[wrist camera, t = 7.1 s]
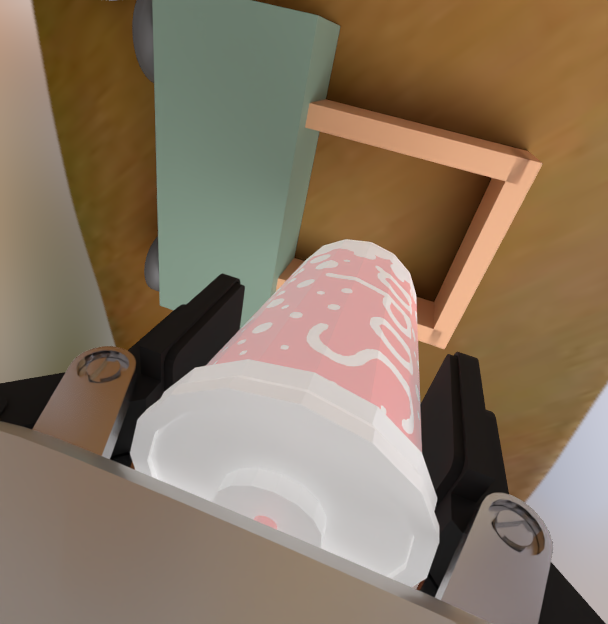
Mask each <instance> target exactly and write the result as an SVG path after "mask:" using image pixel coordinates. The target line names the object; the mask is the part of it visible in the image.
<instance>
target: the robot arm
mask: <svg viewBox="0 0 608 624" xmlns="http://www.w3.org/2000/svg"><path fill="white" fill-rule="evenodd" d="M244 293H245V286H244V285H242V284H241V282H240V279H238V278H235V277H232V276H229V275H226V274H223V273H222V274H220V275H219V276H218V277H217V278H216V279H214V280H213V281H212V282H211V283H210V284H209V285H208V286H207V287H205V288H204V289H203V290H202V291H201V292H200V293H199V294H198V295H196V296H195V297H194V298H193V299H192V300H191V301H190V302H189V303H187V304H182V305H180V306H178V307H177V308H176V309H175V310H174V311H173V312H171V313H170V314H169V315H168V316H167V317H166V318H165V319H163V320H162V321H161V322H160V323H159V324H158V325H156V326H155V327H154V328H153V329H152V330H151V331H150V332H148V333H147V334H146V335H145V336H144V337H143V338H142V339H140V340H139V341H138V342H137V343H136V344H135V345H133V346H132V347H131V348H130V349H129V350H128V351H127V350H125V349H123V348H119V347H113V346H105V347H98V348H93V349H90V350H88V351H85V352H83V353H82V354H80V355H79V356H77V357H76V358H75V359H74V360H73V361H72V363H71V364H70V366H69V367H68V369H67V371H66V372H65V373H59V374H53V375H48V376H42V377H35V378H30V379H24V380H18V381H13V382H6V383H0V624H605V623H604V621H603V620H602V619H601V618H600V617H599V616H598V615H597V613H596V612H595V611H594V610H593V609H592V608H591V607H590V606H589V605H588V603H587V602H586V601H585V600H584V599H583V598H582V596H581V595H580V594H579V593H578V592H577V591H576V590H575V589H574V587H573V586H572V585H571V584H570V583H569V582H568V581H567V580H566V579H565V577H564V576H563V575H562V574H561V573H560V572H559V570H558V569H557V568H556V567H555V566H554V565H553V564H552V563H551V558H552V553H553V542H552V539H551V535H550V532H549V530H548V529H547V527H546V525H545V523H544V522H543V520H542V519H541V518H540V517H539V516H538V514H537V513H536V512H535V511H534V510H533V509H532V508H531V507H529V506H528V505H527V504H526V503H525V502H523V501H521V500H520V499H518V498H516V497H514V496H512V495H509V492H508V486H507V480H506V474H505V468H504V463H503V457H502V451H501V445H500V439H499V434H498V428H497V422H496V417H495V414H494V413H493V412H491V411H488V410H486V409H485V402H484V396H483V389H482V382H481V375H480V368H479V361H478V359H477V358H475V357H472V356H469V355H466V354H463V353H460V352H456V353H455V354H454V356H453V355H450V354H448V355H447V356H446V358H445V359H444V361H443V363H442V365H441V367H440V369H439V371H438V372H437V374H436V376H435V378H434V380H433V382H432V384H431V386H430V387H429V389H428V391H427V393H426V395H425V397H424V399H423V401H422V402H421V404H420V412H421V440H422V454H423V457H424V460H425V463H426V466H427V469H428V472H429V475H430V478H431V481H432V484H433V487H434V490H435V493H436V496H437V503H436V507H435V511H434V512H435V515H436V518H437V521H438V524H439V545H438V547H437V550H436V553H435V556H434V559H433V562H432V564H431V567H430V570H429V573H428V576H427V578H426V579H424V580H423V581H421V582H420V583H419V585H418V587H417V589H414V588H412V587H410V586H407V585H405V584H403V583H400V582H398V581H396V580H393V579H391V578H389V577H386V576H384V575H382V574H379V573H377V572H375V571H372V570H370V569H368V568H365V567H363V566H361V565H358V564H356V563H354V562H351V561H349V560H347V559H344V558H342V557H340V556H337V555H335V554H333V553H330V552H328V551H326V550H324V549H321V548H319V547H317V546H314V545H312V544H309V543H307V542H305V541H302V540H300V539H298V538H295V537H293V536H291V535H288V534H286V533H284V532H281V531H279V530H277V529H274V528H272V527H270V526H267V525H265V524H262V523H260V522H258V521H255V520H253V519H251V518H248V517H246V516H244V515H241V514H239V513H236V512H234V511H232V510H229V509H227V508H225V507H222V506H220V505H218V504H215V503H213V502H210V501H208V500H206V499H203V498H201V497H199V496H196V495H194V494H192V493H189V492H187V491H184V490H182V489H180V488H177V487H175V486H172V485H170V484H168V483H165V482H163V481H160V480H158V479H156V478H153V477H151V476H148V475H146V474H144V473H141V472H139V471H136V470H135V467H134V464H133V461H132V458H131V455H130V451H131V446H132V442H133V437H134V433H135V429H136V424H137V420H138V419H139V417H140V416H141V415H142V414H143V413H144V412H145V411H146V410H147V409H148V408H149V407H150V406H152V405H153V404H154V403H155V402H157V401H158V400H159V399H161V397H162V395H163V393H164V392H165V391H166V390H167V389H168V388H170V387H171V386H172V385H174V384H175V383H176V382H177V381H179V380H180V379H181V378H183V377H184V376H185V375H186V374H188V373H189V372H190V371H191V370H193V369H194V368H196V367H202V366H206V365H207V364H208V363H209V361H210V360H211V359H212V358H213V357H214V356H215V355H216V354H217V353H218V352H219V351H220V350H221V349H222V348H223V347H224V346H225V345H226V344H227V343H228V342H229V340H230V339H231V338H232V337H233V336H234V335H235V334H236V333H237V332H238V331H239V330H240V323H241V316H242V308H243V300H244Z"/></svg>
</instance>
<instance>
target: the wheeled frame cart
mask: <svg viewBox="0 0 608 624" xmlns="http://www.w3.org/2000/svg"><path fill="white" fill-rule="evenodd" d="M339 31H340V26H339V25H337V24H335V23H333V22H331V21H329V20H327V19H325V18H323V17H320V16H318V15H314V14H310V13H305V12H301V11H297V10H292V9H288V8H283V7H279V6H274V5H270V4H266V3H261V2H257V1H252V0H137V1H136V4H135V9H134V14H133V42H134V48H135V53H136V56H137V60H138V62H139V65H140V67H141V69H142V71H143V73H144V74H145V76H146V77H147V78H148V79H149V80H150V81H151V82H153V83H154V88H155V128H156V169H157V209H158V237H157V238H156V239H155V240H154V242H153V243H152V245H151V247H150V249H149V252H148V254H147V257H146V262H145V280H146V283H147V284H148V286H149V287H150V288H151V289H154V290H157V291H159V292H160V306H163V307H166V308H169V309H172V310H175V309H176V308H177V307H178V306H180V305H182V304H187V303H189V302H190V301H191V300H192V299H193V298H194V297H195V296H196V295H198V294H199V293H200V292H201V291H202V290H203V289H204V288H205V287H207V286H208V285H209V284H210V283H211V282H212V281H213V280H214V279H216V278H217V277H218V276H219V275H220V274H222V273H223V274H226V275H229V276H232V277H235V278H238V279H240V282H241V284H242V285H244V286H245V293H244V300H243V308H242V316H241V323H240V329H241V328H242V327H243V326H244V325H245V324H246V323H247V322H248V320H249V319H250V318H251V317H252V316H253V315H254V314H255V313H256V312H257V311H258V310H259V309H260V308H261V307H262V306H263V305H264V304H265V303H266V302H267V300H268V299H269V298H270V297H271V296H272V295H273V294H274V293H275V292H276V291H277V290H278V289H279V288H280V287H281V286H282V285H283V284H284V283H285V282H286V280H287V279H288V278H289V277H290V276H291V275H292V274H293V273H294V272H295V271H296V270H297V269H298V268H299V267H300V266H301V265H302V264H303V263H304V262H305V261H303V260H300V259H297V258H294V256H295V251H296V246H297V241H298V236H299V231H300V226H301V221H302V216H303V211H304V206H305V201H306V196H307V191H308V186H309V181H310V176H311V171H312V166H313V161H314V156H315V151H316V146H317V141H318V136H319V131H320V132H324V133H328V134H331V135H335V136H339V137H342V138H346V139H350V140H354V141H357V142H361V143H365V144H368V145H372V146H376V147H380V148H383V149H387V150H391V151H395V152H398V153H402V154H406V155H409V156H413V157H417V158H421V159H424V160H428V161H432V162H435V163H439V164H443V165H447V166H450V167H454V168H458V169H462V170H465V171H469V172H473V173H476V174H480V175H484V176H488V177H491V178H492V179H491V181H490V183H489V185H488V188H487V190H486V192H485V194H484V196H483V198H482V200H481V203H480V205H479V207H478V209H477V211H476V213H475V215H474V218H473V220H472V222H471V224H470V226H469V228H468V230H467V233H466V235H465V237H464V239H463V241H462V243H461V245H460V248H459V250H458V252H457V254H456V256H455V258H454V261H453V263H452V265H451V267H450V269H449V271H448V273H447V276H446V278H445V280H444V282H443V284H442V286H441V288H440V291H439V293H438V295H437V297H436V299H435V301H434V302H432V301H429V300H426V299H423V298H419V297H416V303H417V331H418V340H419V341H422V342H425V343H428V344H431V345H434V346H437V347H440V348H443V349H445V347H446V345H447V343H448V342H449V340H450V338H451V336H452V334H453V332H454V330H455V328H456V326H457V325H458V323H459V321H460V319H461V317H462V315H463V313H464V311H465V309H466V308H467V306H468V304H469V302H470V300H471V298H472V296H473V294H474V292H475V291H476V289H477V287H478V285H479V283H480V281H481V279H482V277H483V275H484V274H485V272H486V270H487V268H488V266H489V264H490V262H491V260H492V258H493V256H494V255H495V253H496V251H497V249H498V247H499V245H500V243H501V241H502V239H503V238H504V236H505V234H506V232H507V230H508V228H509V226H510V224H511V222H512V221H513V219H514V217H515V215H516V213H517V211H518V209H519V207H520V205H521V204H522V202H523V200H524V198H525V196H526V194H527V192H528V190H529V188H530V187H531V185H532V183H533V181H534V179H535V177H536V175H537V173H538V171H539V170H540V168H541V166H542V164H543V163H542V162H540V161H539V160H538V159H537V158H536V157H535V156H534V155H532V154H531V153H530V152H529V151H526V150H522V149H518V148H514V147H510V146H506V145H502V144H498V143H495V142H491V141H487V140H483V139H479V138H475V137H471V136H467V135H463V134H459V133H456V132H452V131H448V130H444V129H440V128H436V127H432V126H428V125H424V124H420V123H417V122H413V121H409V120H405V119H401V118H397V117H393V116H389V115H385V114H381V113H378V112H374V111H370V110H366V109H362V108H358V107H354V106H350V105H346V104H342V103H339V102H335V101H331V100H327V99H326V96H327V91H328V86H329V81H330V76H331V71H332V66H333V61H334V56H335V51H336V46H337V41H338V36H339Z"/></svg>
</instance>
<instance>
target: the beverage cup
mask: <svg viewBox="0 0 608 624" xmlns="http://www.w3.org/2000/svg"><path fill="white" fill-rule="evenodd" d="M130 455H131V458H132V461H133V464H134V467H135V470H136V471H139V472H141V473H144V474H146V475H148V476H151V477H153V478H156V479H158V480H160V481H163V482H165V483H168V484H170V485H172V486H175V487H177V488H180V489H182V490H184V491H187V492H189V493H192V494H194V495H196V496H199V497H201V498H203V499H206V500H208V501H210V502H213V503H215V504H218V505H220V506H222V507H225V508H227V509H229V510H232V511H234V512H236V513H239V514H241V515H244V516H246V517H248V518H251V519H253V520H255V521H258V522H260V523H262V524H265V525H267V526H270V527H272V528H274V529H277V530H279V531H281V532H284V533H286V534H288V535H291V536H293V537H295V538H298V539H300V540H302V541H305V542H307V543H309V544H312V545H314V546H317V547H319V548H321V549H324V550H326V551H328V552H330V553H333V554H335V555H337V556H340V557H342V558H344V559H347V560H349V561H351V562H354V563H356V564H358V565H361V566H363V567H365V568H368V569H370V570H372V571H375V572H377V573H379V574H382V575H384V576H386V577H389V578H391V579H393V580H396V581H398V582H400V583H403V584H405V585H407V586H410V587H413V586H414V585H416V584H418V583H419V582H421V581H423V580H424V579H426V578H427V576H428V573H429V570H430V567H431V564H432V562H433V559H434V556H435V553H436V550H437V547H438V545H439V524H438V521H437V518H436V515H435V512H434V511H435V507H436V503H437V496H436V493H435V490H434V487H433V484H432V481H431V478H430V475H429V472H428V469H427V466H426V463H425V460H424V457H423V454H422V440H421V412H420V385H419V358H418V331H417V303H416V293H415V289H414V285H413V282H412V278H411V275H410V272H409V271H408V270H407V269H406V268H405V266H404V265H403V264H402V263H401V262H400V261H399V259H398V258H397V257H396V256H395V255H394V254H393V253H391V252H389V251H387V250H385V249H383V248H382V247H380V246H378V245H376V244H374V243H372V242H366V241H357V240H348V239H345V240H342V241H338V242H335V243H331V244H328V245H324V246H322V247H321V248H320V249H319V250H317V251H316V252H315V253H314V254H313V255H311V256H310V257H309V258H308V259H306V260H305V262H304V263H303V264H302V265H301V266H300V267H299V268H298V269H297V270H296V271H295V272H294V273H293V274H292V275H291V276H290V277H289V278H288V279H287V280H286V282H285V283H284V284H283V285H282V286H281V287H280V288H279V289H278V290H277V291H276V292H275V293H274V294H273V295H272V296H271V297H270V298H269V299H268V300H267V302H266V303H265V304H264V305H263V306H262V307H261V308H260V309H259V310H258V311H257V312H256V313H255V314H254V315H253V316H252V317H251V318H250V319H249V320H248V322H247V323H246V324H245V325H244V326H243V327H242V328H241V329H240V330H239V331H238V332H237V333H236V334H235V335H234V336H233V337H232V338H231V339H230V340H229V342H228V343H227V344H226V345H225V346H224V347H223V348H222V349H221V350H220V351H219V352H218V353H217V354H216V355H215V356H214V357H213V358H212V359H211V360H210V361H209V363H208V364H207V365H206V366H202V367H196V368H194V369H193V370H191V371H190V372H189V373H188V374H186V375H185V376H184V377H183V378H181V379H180V380H179V381H177V382H176V383H175V384H174V385H172V386H171V387H170V388H168V389H167V390H166V391H165V392H164V393H163V395H162V397H161V399H159V400H158V401H157V402H155V403H154V404H153V405H152V406H150V407H149V408H148V409H147V410H146V411H145V412H144V413H143V414H142V415H141V416H140V417H139V419H138V420H137V424H136V429H135V433H134V437H133V442H132V446H131V451H130Z"/></svg>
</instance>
